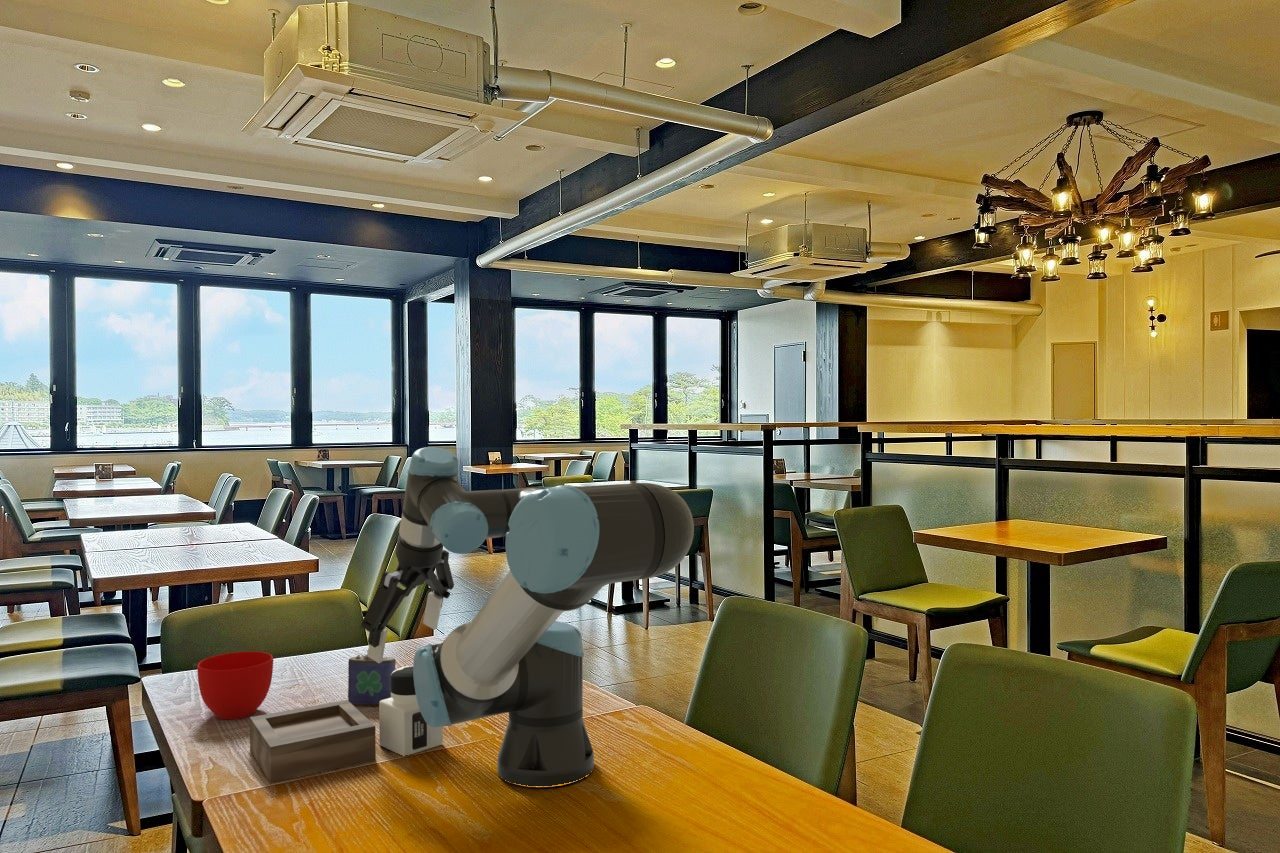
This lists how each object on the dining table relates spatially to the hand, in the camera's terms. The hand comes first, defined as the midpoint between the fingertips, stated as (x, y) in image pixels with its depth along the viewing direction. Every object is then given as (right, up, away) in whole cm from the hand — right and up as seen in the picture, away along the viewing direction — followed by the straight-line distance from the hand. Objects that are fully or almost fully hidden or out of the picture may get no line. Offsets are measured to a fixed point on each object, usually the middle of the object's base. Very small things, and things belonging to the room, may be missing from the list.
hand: (403, 641), depth 153 cm
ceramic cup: (-36, -17, +13) cm, 42 cm away
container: (+2, -17, -4) cm, 17 cm away
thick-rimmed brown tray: (-13, -17, -8) cm, 23 cm away
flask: (-11, -17, +17) cm, 26 cm away
